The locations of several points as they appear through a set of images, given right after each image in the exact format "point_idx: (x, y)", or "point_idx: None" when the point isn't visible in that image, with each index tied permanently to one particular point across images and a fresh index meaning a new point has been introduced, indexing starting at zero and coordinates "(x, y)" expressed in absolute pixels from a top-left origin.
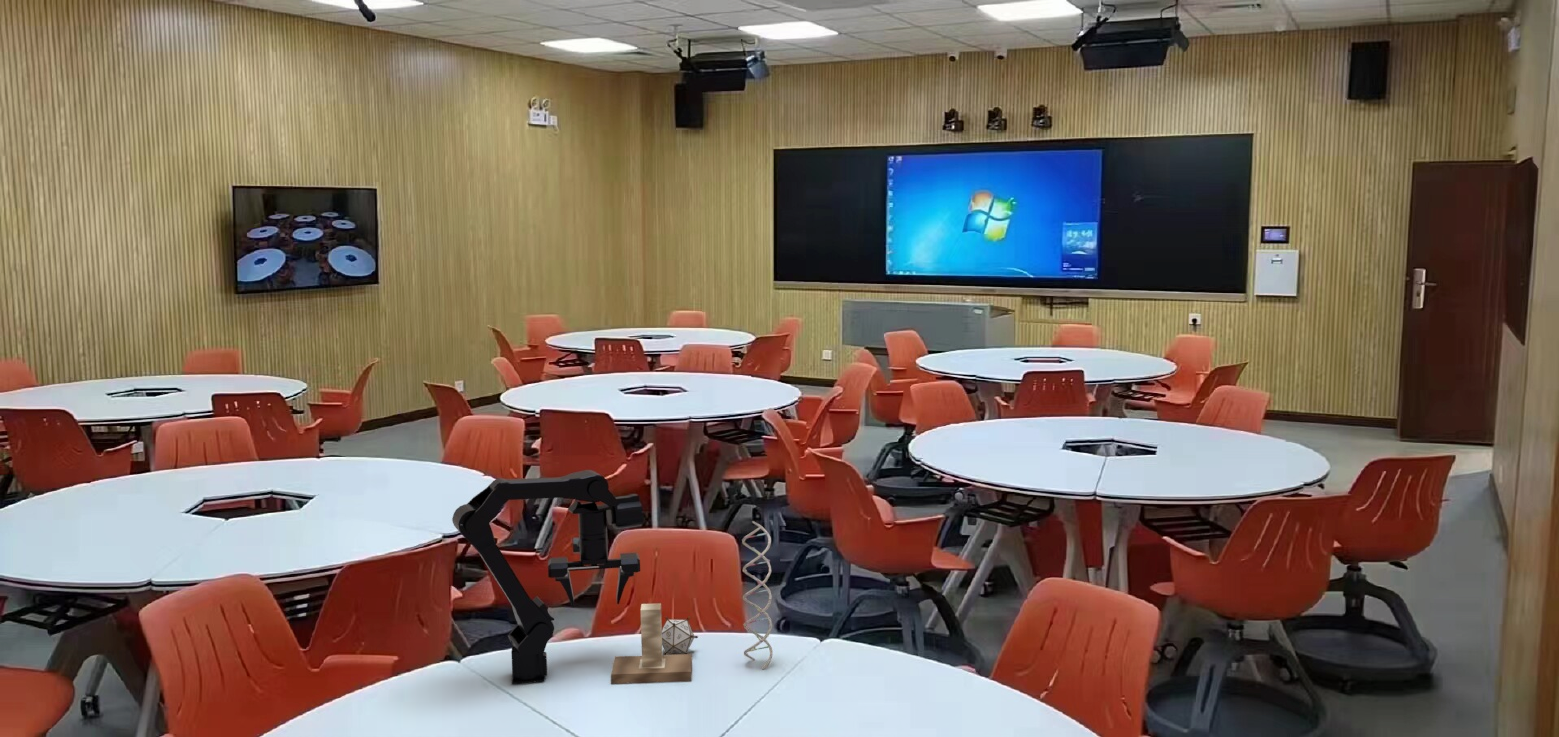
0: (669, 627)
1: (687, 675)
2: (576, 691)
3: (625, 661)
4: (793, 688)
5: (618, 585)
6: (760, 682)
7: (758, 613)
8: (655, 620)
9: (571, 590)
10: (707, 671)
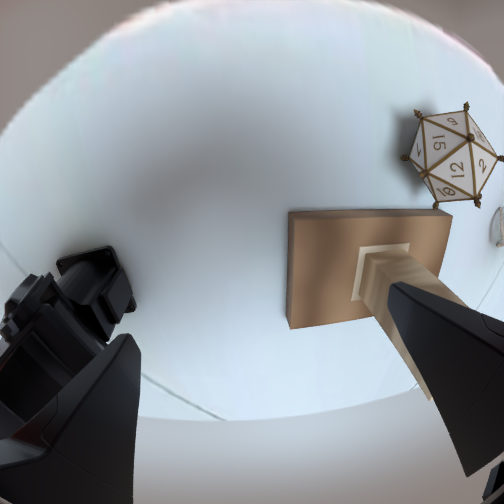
0: (462, 186)
1: None
2: (219, 345)
3: (323, 256)
4: (491, 302)
5: (446, 409)
6: (479, 289)
7: None
8: None
9: (133, 470)
10: (449, 251)
